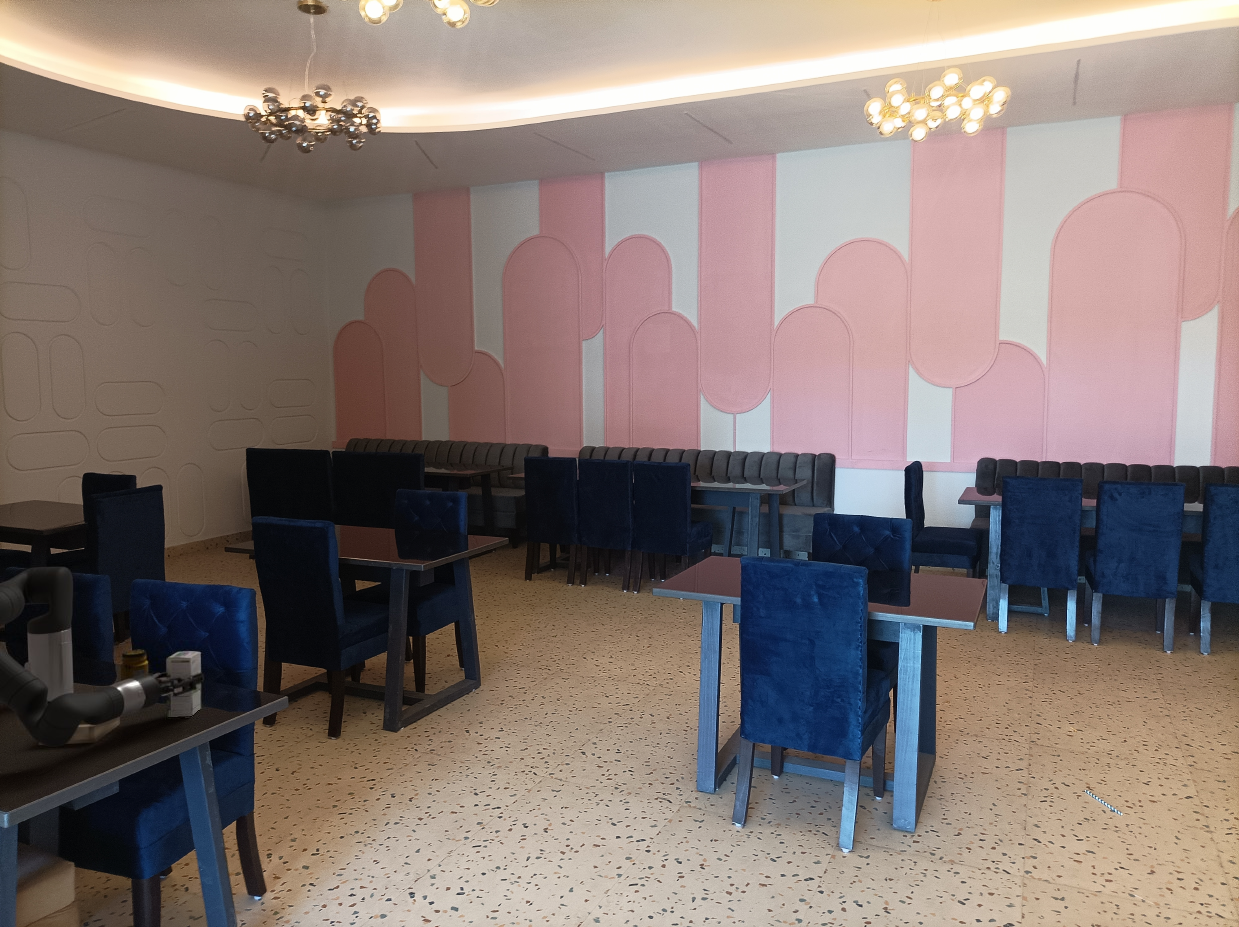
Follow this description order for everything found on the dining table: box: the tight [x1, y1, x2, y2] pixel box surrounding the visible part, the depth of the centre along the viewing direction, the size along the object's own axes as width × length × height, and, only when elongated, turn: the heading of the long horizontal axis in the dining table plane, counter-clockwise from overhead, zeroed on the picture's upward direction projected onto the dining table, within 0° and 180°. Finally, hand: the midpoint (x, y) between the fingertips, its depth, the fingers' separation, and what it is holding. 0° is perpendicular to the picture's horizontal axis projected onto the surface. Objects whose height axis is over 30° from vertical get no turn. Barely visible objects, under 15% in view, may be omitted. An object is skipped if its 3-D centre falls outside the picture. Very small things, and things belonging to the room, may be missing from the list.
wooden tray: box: [38, 717, 121, 746], centre depth 189 cm, size 11×11×4 cm
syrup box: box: [165, 650, 202, 718], centre depth 201 cm, size 6×6×14 cm
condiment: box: [120, 649, 149, 681], centre depth 212 cm, size 7×8×12 cm
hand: (188, 675), depth 203 cm, fingers open, 8 cm apart
